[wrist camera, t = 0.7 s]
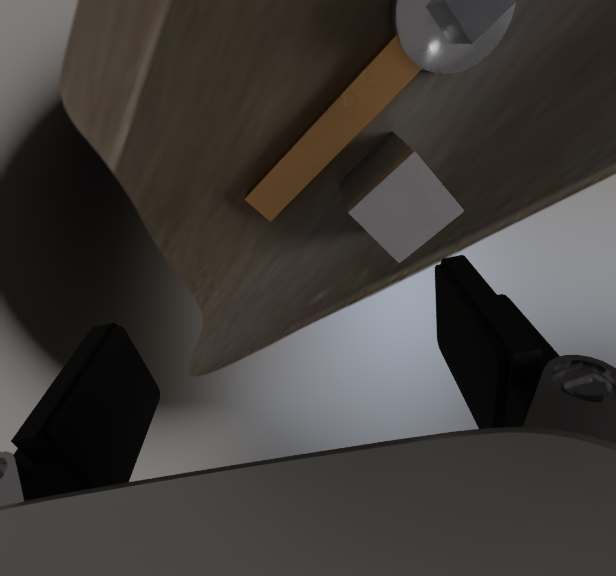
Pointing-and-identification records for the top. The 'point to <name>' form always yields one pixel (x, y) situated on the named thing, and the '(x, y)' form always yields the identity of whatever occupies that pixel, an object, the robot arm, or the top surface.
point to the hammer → (385, 85)
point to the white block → (398, 198)
